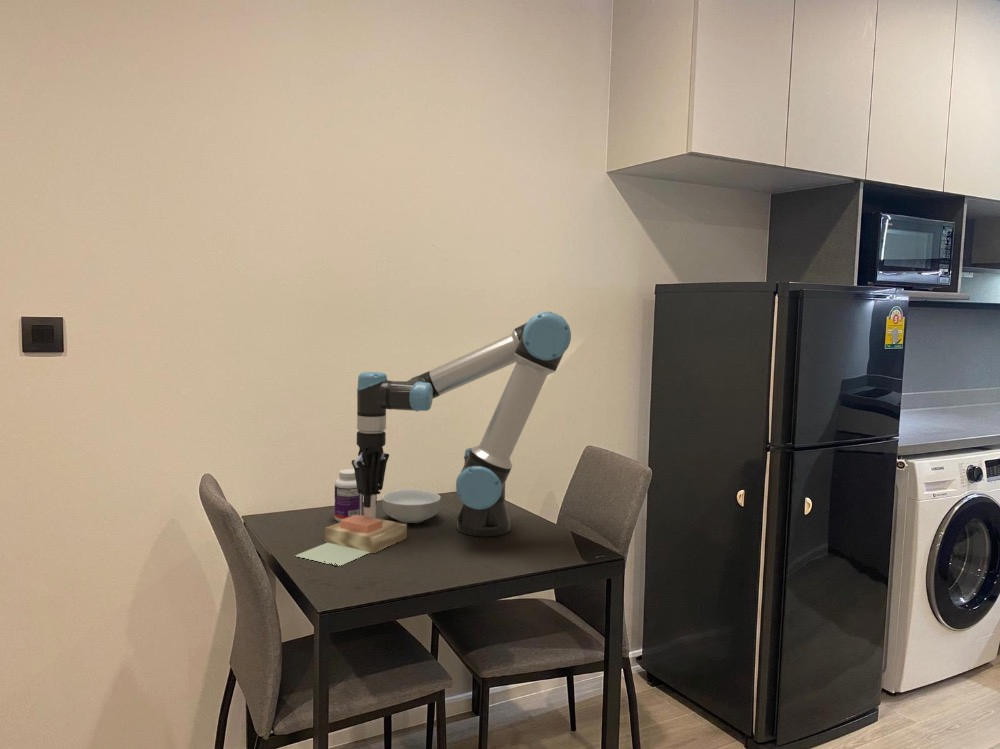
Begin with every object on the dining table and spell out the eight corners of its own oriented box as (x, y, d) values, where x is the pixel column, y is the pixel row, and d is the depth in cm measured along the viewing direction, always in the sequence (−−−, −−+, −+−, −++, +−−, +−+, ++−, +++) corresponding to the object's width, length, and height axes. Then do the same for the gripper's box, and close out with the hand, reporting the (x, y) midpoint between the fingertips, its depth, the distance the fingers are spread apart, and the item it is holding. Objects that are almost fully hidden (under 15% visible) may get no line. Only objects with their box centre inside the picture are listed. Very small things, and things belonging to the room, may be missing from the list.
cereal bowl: (385, 530, 201) (386, 505, 200) (378, 513, 217) (378, 490, 216) (445, 526, 206) (446, 502, 205) (434, 510, 222) (434, 487, 221)
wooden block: (406, 538, 194) (406, 524, 194) (373, 553, 182) (374, 538, 181) (359, 528, 202) (359, 514, 201) (325, 542, 189) (325, 527, 189)
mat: (370, 553, 182) (370, 552, 182) (338, 567, 172) (338, 566, 172) (327, 543, 189) (327, 542, 189) (294, 556, 178) (294, 555, 178)
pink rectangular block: (382, 527, 190) (382, 520, 190) (367, 533, 185) (367, 526, 185) (355, 522, 194) (355, 514, 194) (340, 527, 189) (340, 520, 189)
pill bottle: (344, 514, 215) (344, 466, 213) (368, 517, 212) (368, 469, 211) (329, 522, 207) (329, 472, 206) (353, 525, 205) (353, 475, 203)
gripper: (375, 426, 198) (374, 510, 200) (343, 432, 187) (342, 521, 189) (397, 429, 195) (396, 514, 197) (366, 436, 183) (365, 526, 185)
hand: (369, 518), depth 193 cm, fingers closed
